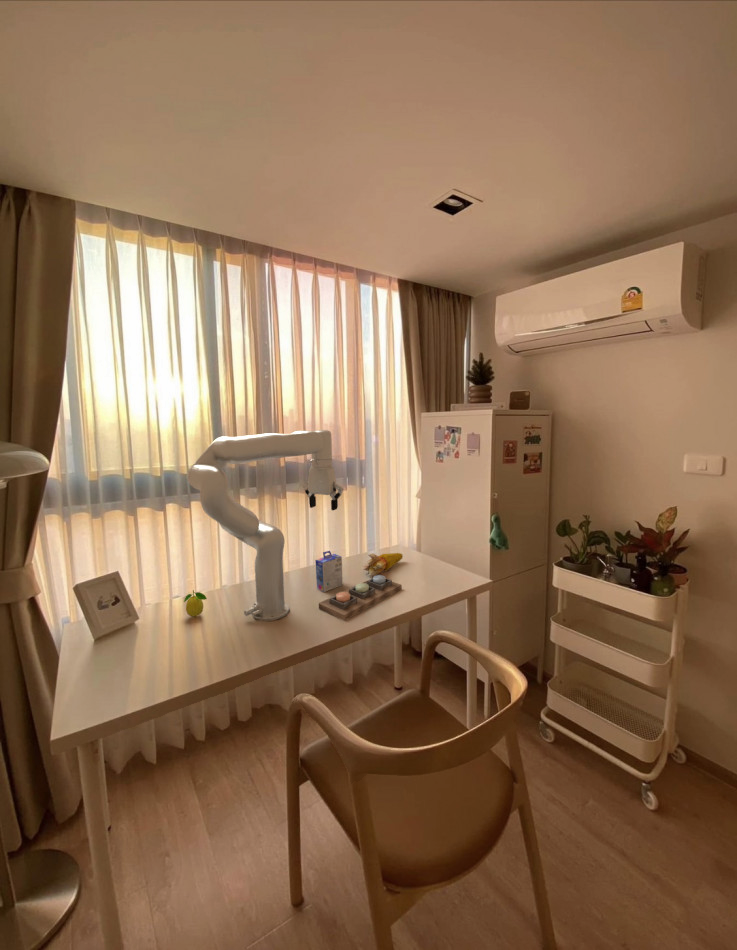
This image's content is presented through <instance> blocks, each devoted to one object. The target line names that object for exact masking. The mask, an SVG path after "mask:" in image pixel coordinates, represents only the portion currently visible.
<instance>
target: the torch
mask: <svg viewBox="0 0 737 950" xmlns="http://www.w3.org/2000/svg"><path fill="white" fill-rule="evenodd" d="M368 556H369V558H370V559H369V560H368V561H366V563H365V564H363V565H362V567H363V570H364V571H367V574H366V575H369V577H370V578H369V579H371V578H373V577H374V576H377V575H378V574H380V573H381V572H383V571H384V572H387V571H388V570H389V569H390V568H392V567H393V566H395V565H396V564H398V563H399V562H400V561H401V560H403V557H404V556H403V554H402V553H400V552H395V553H382V554H379V555H376V554H375V553H369V554H368Z"/></svg>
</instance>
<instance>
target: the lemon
mask: <svg viewBox="0 0 737 950" xmlns="http://www.w3.org/2000/svg"><path fill="white" fill-rule="evenodd" d="M204 600H207V596H206V594H204V593H202V592H199V591H197V592H195V591H194V589H192V593H188V594H187V595H186V596H185V597H184V601H183V602H184V603H185V602H186V603H185V604H186V605H185V611H186V613H187V614H188V616H190V617H194V618H197V617H198V616H199V615H200V614H202V612H203V610H204V602H203V601H204Z"/></svg>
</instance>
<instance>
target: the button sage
mask: <svg viewBox="0 0 737 950" xmlns="http://www.w3.org/2000/svg"><path fill="white" fill-rule="evenodd" d="M355 589H356V591H357V592H359V593H362V594H363V593H365V592H367V591H369V585H368V584H365V583H363V582H361V583H357V584H355Z"/></svg>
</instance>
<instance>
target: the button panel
mask: <svg viewBox="0 0 737 950" xmlns="http://www.w3.org/2000/svg"><path fill="white" fill-rule="evenodd" d="M362 583H365V584H368V585H369V591H367V592H365V593H363V594H362V593H359V592H357V591H356V589H355V586H356V585H355V586H353V587H351V588H348V589H346V590H344V591H343V592H348V593H349V594H350V600H349V601H347V602H345V603H341V602H339V601H336V594H335V595H333V596H331V597H329V598H327V599H324V600H322V601H320V602H318V609H319V610H322V611H324V612H326V613H328V614H330V615H331V616H334V617H336V618H338V619H340V620H342V621H346V620H348V619H350V618H351V617H353V616H355V615H357V614H359V613H361V612H363V611H365V610H366V609H369V608H370V607H372V606H374V605H375V604H377V603H380V602H381V601H383V600H385V599H387V598H389V597H390V596H392V595H394V594H396V593H398V592H400V591H402V590H403V589H402V588H403V587H402V586H403V585H402V584H401V583H397V582H395V581H392V579H390V578H387V577H386V582H385V583H383V584H381V585H379V584H376V583H373V577H372V578H369V579H366V581H365V580H364V581H363V582H362Z"/></svg>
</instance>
